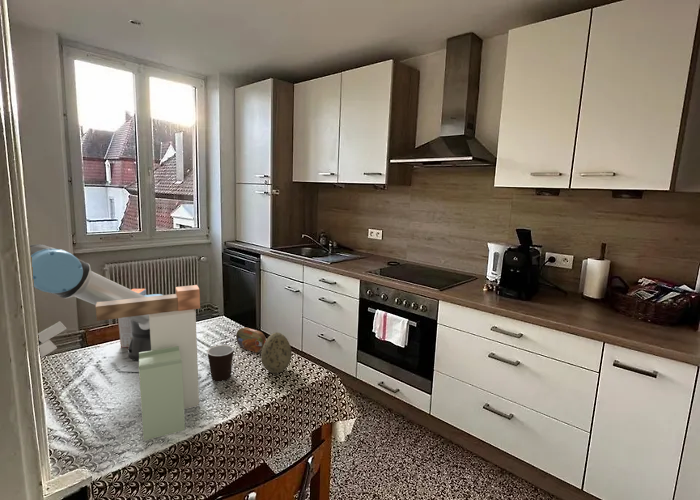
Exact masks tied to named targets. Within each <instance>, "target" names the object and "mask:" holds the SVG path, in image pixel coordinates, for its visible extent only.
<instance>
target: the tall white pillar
mask: <svg viewBox="0 0 700 500" xmlns="http://www.w3.org/2000/svg"><path fill="white" fill-rule="evenodd" d="M196 314H197V313H196V309H192V310H184V311H172V312H164V313H156V314H149V323H150V339H151V350H158V349H164V348H170V347H176V346H179V352H180V357H181V359H182V379H183V400H184V410H186V409H190V408H195V407H198V406H199V407H200V395H199V394H200V391H199V390H200V389H199V388H200V387H199V365H198V342H197V341H198V340H197V339H198V338H197V318H196V317H197V315H196Z"/></svg>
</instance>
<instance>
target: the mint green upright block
mask: <svg viewBox="0 0 700 500" xmlns="http://www.w3.org/2000/svg"><path fill="white" fill-rule="evenodd" d="M138 375H139V376H138V377H139V391H140V392H139V393H140V405H141V421H142V433H143V435H142V436H143V441H144V442H145V441H148V440H152V439H156V438H159V437H160V438H161V437H164V436H167V435H171V434H175V433H180V432H183V431H185V430H186V425H185V409H184V400H183V379H182V359H181V357H180V352H179V346H176V347H170V348H164V349H158V350H151V351H145V352H139V361H138Z"/></svg>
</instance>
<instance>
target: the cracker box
mask: <svg viewBox="0 0 700 500" xmlns="http://www.w3.org/2000/svg"><path fill="white" fill-rule="evenodd" d="M131 290H132V291H135V292H137V293H139V294H141V295H143V296H144V295H147V289H146V288H132V289H131ZM117 321H118V331H119V342H120V348H123V349H125V348H128V349H129V346H130V342H131V339H132V327H131V319H128V318H126V317H124V318H117Z"/></svg>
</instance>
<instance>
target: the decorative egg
mask: <svg viewBox="0 0 700 500" xmlns="http://www.w3.org/2000/svg"><path fill="white" fill-rule="evenodd" d="M260 352H261V353H260V355H261V357H260V358H261V359H260V360H261V364H262V366H263V367H264V369H265V370H266V371H267V372H270V373H272V374H279V373H282V372H283V371H285V370H286V369H287V368H288V367H289V366H290V364H291V360H292V355H293V354H292V347H291V345H290V342H289V340H288V339H287V337H286V336H285V335H284V334H282V333H281V332H273V333H271V334H270V335H269V336H268V337H267V338H266V341H265V343H264V345H263V348H262V351H260Z"/></svg>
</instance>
